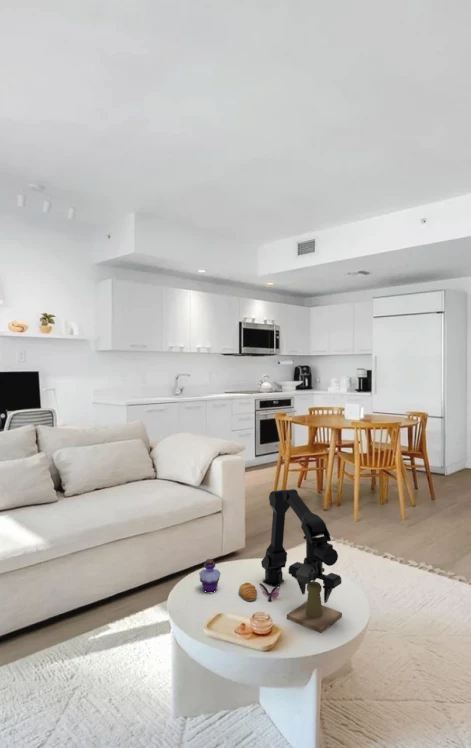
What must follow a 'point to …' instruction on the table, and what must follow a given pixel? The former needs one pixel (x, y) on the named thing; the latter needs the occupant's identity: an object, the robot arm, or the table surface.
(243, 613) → the table surface
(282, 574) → the robot arm
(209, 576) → the potion bottle
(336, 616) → the walnut board
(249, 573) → the table surface
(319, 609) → the olive rounded upright piece
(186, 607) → the table surface
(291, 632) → the table surface
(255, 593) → the pastry
